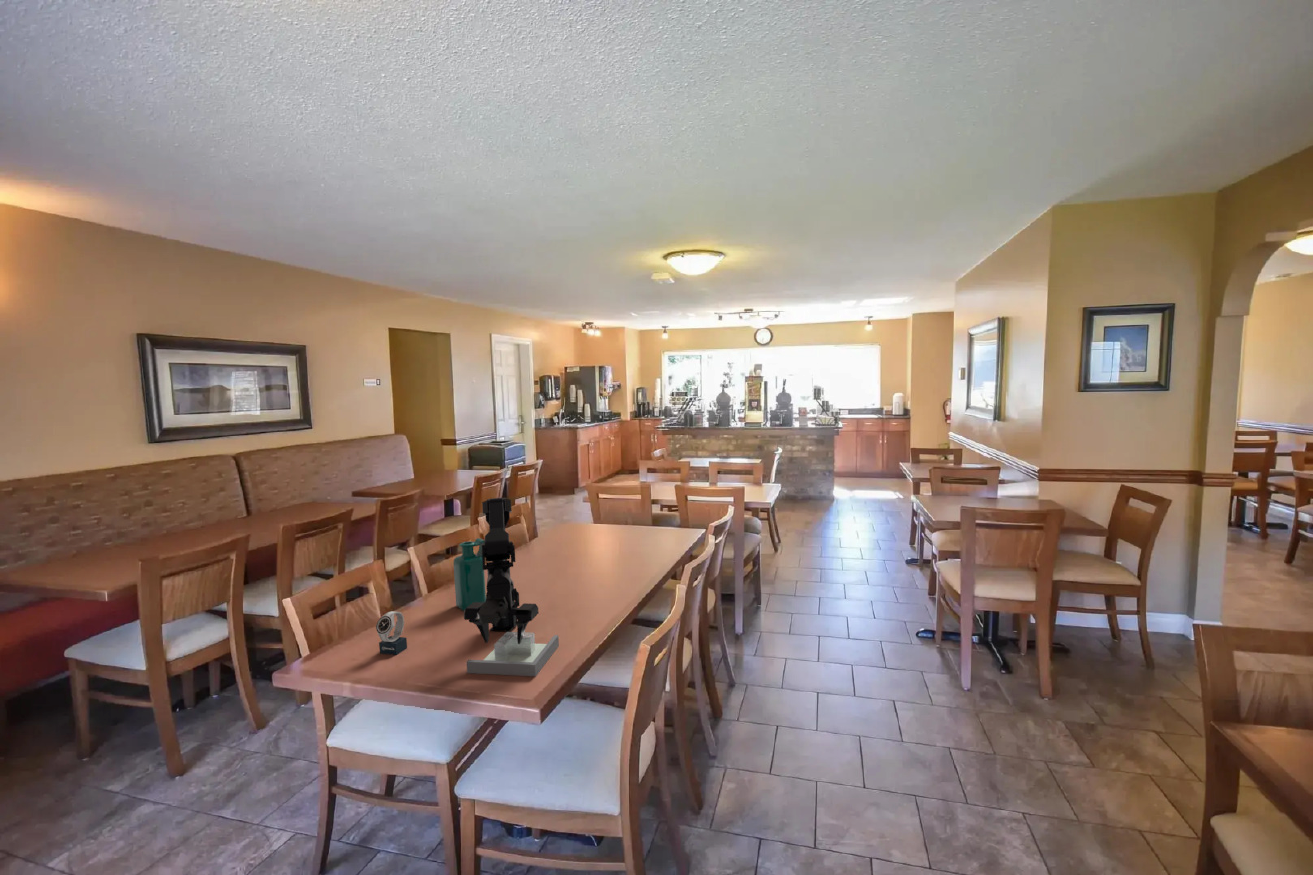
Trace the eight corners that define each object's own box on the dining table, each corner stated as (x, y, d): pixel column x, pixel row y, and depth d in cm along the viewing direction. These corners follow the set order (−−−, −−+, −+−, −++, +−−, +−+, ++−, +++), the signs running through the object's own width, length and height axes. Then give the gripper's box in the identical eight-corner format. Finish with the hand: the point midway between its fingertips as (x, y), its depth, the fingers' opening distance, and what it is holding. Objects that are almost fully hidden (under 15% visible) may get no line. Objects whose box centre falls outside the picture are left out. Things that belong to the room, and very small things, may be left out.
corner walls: (466, 673, 144) (466, 661, 144) (496, 643, 161) (496, 633, 161) (535, 676, 141) (535, 664, 141) (558, 645, 158) (558, 635, 158)
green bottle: (463, 612, 186) (459, 546, 184) (454, 605, 193) (450, 542, 191) (492, 604, 192) (488, 541, 190) (482, 598, 199) (478, 536, 197)
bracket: (507, 649, 156) (506, 631, 156) (535, 650, 155) (534, 632, 155) (495, 662, 148) (494, 644, 148) (524, 664, 147) (522, 645, 147)
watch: (374, 656, 156) (371, 617, 155) (395, 643, 164) (392, 606, 163) (391, 658, 154) (388, 619, 153) (411, 645, 162) (408, 608, 161)
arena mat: (474, 670, 145) (474, 669, 145) (501, 643, 161) (501, 642, 161) (533, 673, 143) (533, 672, 143) (554, 645, 158) (554, 644, 158)
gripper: (450, 595, 142) (454, 655, 143) (521, 597, 139) (524, 658, 140) (472, 580, 153) (475, 636, 154) (537, 582, 150) (540, 639, 151)
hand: (503, 642), depth 150 cm, fingers open, 9 cm apart
